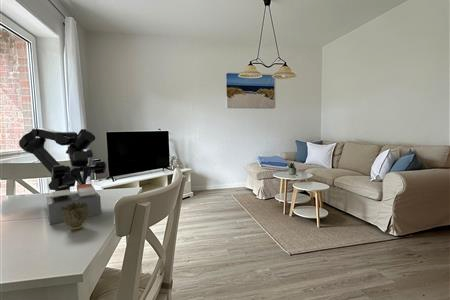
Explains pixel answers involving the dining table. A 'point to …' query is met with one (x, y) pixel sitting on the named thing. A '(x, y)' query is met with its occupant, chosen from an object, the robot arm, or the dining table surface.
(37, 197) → the dining table surface
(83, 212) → the cup
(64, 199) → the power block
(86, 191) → the block
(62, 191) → the block
